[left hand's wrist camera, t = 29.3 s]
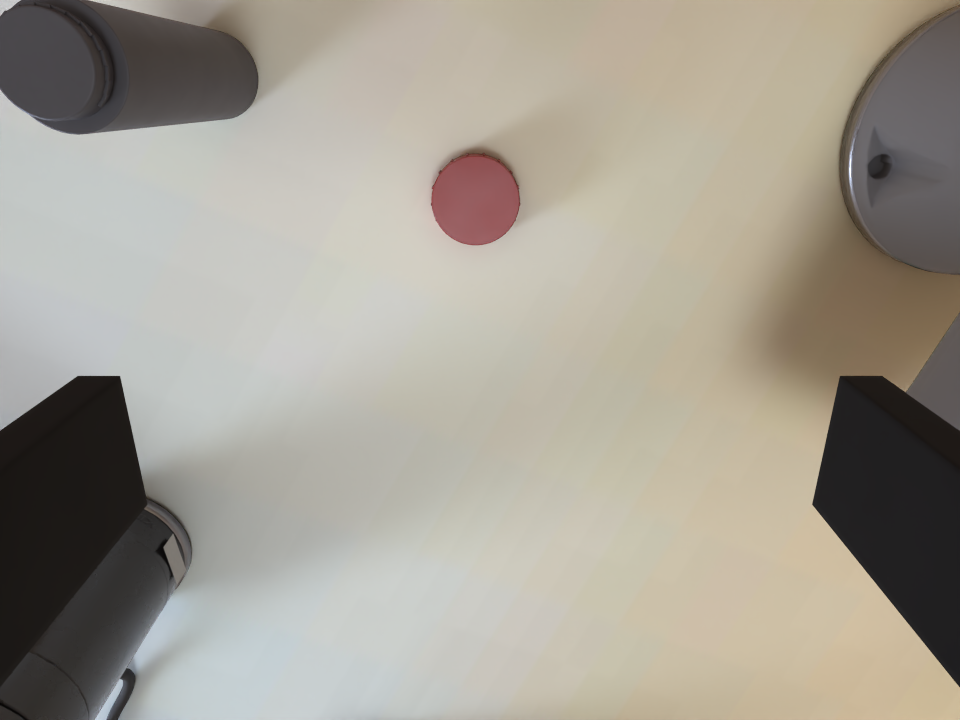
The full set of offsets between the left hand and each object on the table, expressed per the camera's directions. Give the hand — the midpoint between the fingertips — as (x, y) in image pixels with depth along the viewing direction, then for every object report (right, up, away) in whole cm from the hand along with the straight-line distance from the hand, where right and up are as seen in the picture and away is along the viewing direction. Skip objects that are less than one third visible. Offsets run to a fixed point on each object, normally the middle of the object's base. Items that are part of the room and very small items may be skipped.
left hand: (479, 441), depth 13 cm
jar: (-15, +18, +26) cm, 35 cm away
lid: (0, +11, +27) cm, 30 cm away
